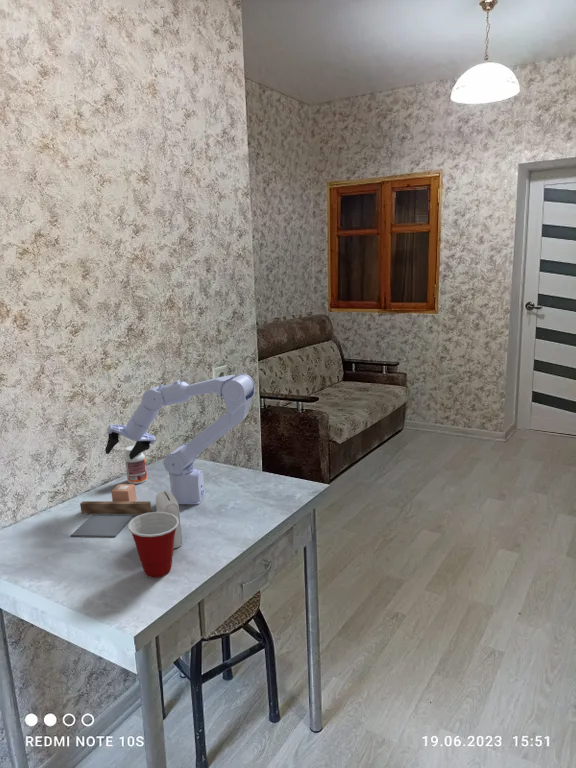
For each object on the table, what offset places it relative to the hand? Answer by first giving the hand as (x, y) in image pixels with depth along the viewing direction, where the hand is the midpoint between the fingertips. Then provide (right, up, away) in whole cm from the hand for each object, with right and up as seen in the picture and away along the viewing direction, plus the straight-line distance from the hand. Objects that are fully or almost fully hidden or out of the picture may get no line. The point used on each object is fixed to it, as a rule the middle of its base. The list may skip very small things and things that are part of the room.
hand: (118, 454), depth 160 cm
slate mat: (+1, -17, -17) cm, 24 cm away
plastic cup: (+22, -21, -40) cm, 50 cm away
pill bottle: (+2, -10, +14) cm, 17 cm away
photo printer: (+21, -18, -26) cm, 38 cm away
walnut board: (+2, -15, -9) cm, 18 cm away
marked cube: (+3, -14, -3) cm, 15 cm away
